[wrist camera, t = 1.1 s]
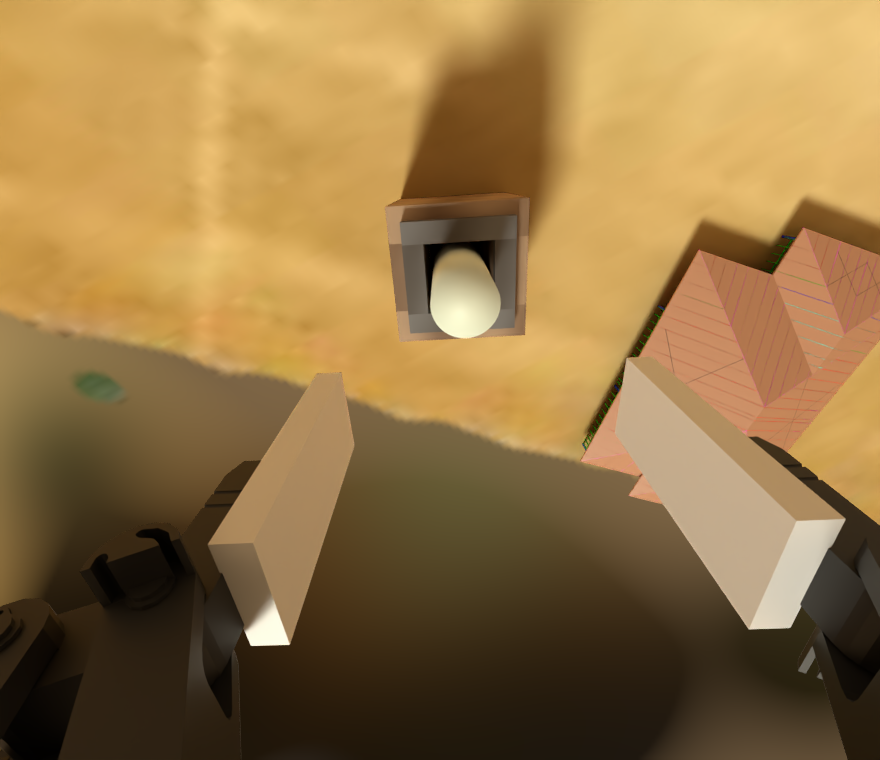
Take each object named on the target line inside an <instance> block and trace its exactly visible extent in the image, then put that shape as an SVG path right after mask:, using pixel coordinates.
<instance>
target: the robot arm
mask: <svg viewBox="0 0 880 760" xmlns="http://www.w3.org/2000/svg"><path fill="white" fill-rule="evenodd" d="M615 434H616V436H617V437H618V439H619V440H620V442H621V443H622V445H623V446H624V448H625V449H626V450H627V452H628V453H629V455H630V456H631V458H632V459H633V461H634V462H635V464H636V465H637V467H638V468H639V469H640V471H641V472H642V474H643V475H644V477H645V478H646V480H647V481H648V483H649V484H650V485H651V487H652V488H653V490H654V491H655V493H656V494H657V496H658V497H659V499H660V500H661V502H662V503H663V504H664V506H665V507H666V509H667V510H668V512H669V513H670V514H671V516H672V518H673V519H674V521H675V522H676V523H677V525H678V526H679V528H680V529H681V531H682V532H683V534H684V535H685V537H686V538H687V540H688V541H689V542H690V544H691V545H692V547H693V548H694V550H695V551H696V552H697V554H698V555H699V557H700V559H701V560H702V561H703V563H704V564H705V566H706V567H707V568H708V570H709V572H710V573H711V575H712V576H713V577H714V579H715V580H716V582H717V583H718V585H719V586H720V588H721V589H722V591H723V592H724V594H725V595H726V597H727V598H728V599H729V601H730V602H731V604H732V605H733V607H734V608H735V610H736V611H737V612H738V614H739V616H740V617H741V618H742V620H743V621H744V623H745V624H746V626H747V627H748V629H770V628H790V627H791V625H792V623H793V621H794V619H795V618H796V615H797V613H798V612H799V610H800V608H801V606H802V607H803V609H804V610H805V611H806V612H807V613H808V615H809V616H810V617H811V618H812V619H813V620H814V622H815V623H816V624H817V626H816V628H815V630H814V632H813V633H812V635H811V637H810V639H809V641H808V643H807V644H806V646H805V648H804V650H803V651H802V653H801V655H800V657H799V659H798V671H800V672H803V673H806V672H807V670H808V669H809V667H810V665H811V663H812V662H813V660H814V658H815V657H816V659H817V662H818V666H819V671H818V673H817V677H818V678H820V679H823V682H824V685H825V688H826V691H827V695H828V698H829V701H830V704H831V707H832V711H833V714H834V717H835V720H836V723H837V727H838V730H839V733H840V736H841V740H842V743H843V746H844V749H845V753H846V755H847V759H848V760H880V525H878V524H877V523H876V522H875V521H873V520H872V519H871V518H869V517H868V516H867V515H866V514H864V513H863V512H862V511H861V510H859V509H858V508H857V507H855V506H854V505H853V504H852V503H850V502H849V501H848V500H847V499H845V498H844V497H843V496H842V495H840V494H839V493H838V492H836V491H835V490H834V489H833V488H831V487H830V486H829V485H828V484H826V483H825V482H824V481H823V480H818V477H817V476H816V475H815V474H814V473H812V472H811V471H810V470H809V469H807V468H806V467H802V464H801V463H800V462H798V461H797V460H796V459H795V458H793V457H792V456H791V455H790V454H788V453H787V452H786V451H785V450H783V449H782V448H780V447H778V446H776V445H774V444H772V443H770V442H768V441H766V440H764V439H762V438H760V437H758V436H754V437H748V436H746V435H745V434H744V433H743V432H742V431H740V430H739V429H738V428H737V427H736V426H734V425H733V424H732V423H731V422H730V421H728V420H727V419H726V418H725V417H724V416H723V415H721V414H720V413H719V412H718V411H717V410H715V409H714V408H713V407H712V406H711V405H709V404H708V403H707V402H706V401H705V400H703V399H702V398H701V397H700V396H699V395H697V394H696V393H695V392H694V391H693V390H692V389H690V388H689V387H688V386H687V385H686V384H684V383H683V382H682V381H681V380H680V379H678V378H677V377H676V376H675V375H674V374H672V373H671V372H670V371H669V370H668V369H666V368H665V367H664V366H663V365H662V364H661V363H659V362H658V361H657V360H656V359H655V358H653V357H652V356H650V357H630V358H627V359H626V365H625V371H624V378H623V384H622V390H621V397H620V403H619V410H618V416H617V422H616V429H615ZM353 448H354V440H353V435H352V429H351V424H350V418H349V413H348V407H347V402H346V396H345V390H344V385H343V379H342V374H341V372H339V373H320V374H316V376H315V377H314V379H313V380H312V382H311V384H310V385H309V387H308V388H307V390H306V391H305V393H304V395H303V396H302V398H301V399H300V401H299V403H298V404H297V406H296V407H295V409H294V410H293V412H292V413H291V415H290V417H289V418H288V420H287V421H286V423H285V424H284V426H283V427H282V429H281V431H280V432H279V434H278V435H277V437H276V438H275V440H274V442H273V443H272V445H271V446H270V448H269V449H268V451H267V452H266V454H265V456H264V457H263V459H262V460H261V461H244V462H242V463H241V464H240V465H239V466H237V467H236V468H235V469H233V470H232V471H231V472H230V473H228V474H227V475H226V476H225V477H224V479H223V480H222V481H221V483H220V484H219V486H218V487H217V488H216V490H215V492H214V494H213V495H211V497H210V498H209V499H208V501H207V502H206V503H205V508H202V509H201V510H200V512H199V513H198V514H197V516H196V517H195V519H194V520H193V521H192V523H191V524H190V525H189V527H188V528H187V530H186V531H185V532H184V534H183V535H182V536H180V533H179V531H178V529H177V528H175V527H174V526H172V525H171V524H168V523H151V524H146V525H141V526H138V527H135V528H133V529H131V530H128V531H126V532H123V533H121V534H119V535H118V536H116V537H115V538H113V539H111V540H110V541H108V542H106V543H105V544H103V545H102V546H101V547H100V548H99V549H98V550H97V551H96V552H94V553H93V554H92V555H91V556H90V557H89V558H88V559H87V561H86V563H85V564H84V566H83V567H82V569H81V571H80V573H81V574H82V576H83V578H84V579H85V580H86V582H87V584H88V585H89V587H90V588H91V590H92V591H93V593H94V595H95V596H96V597H97V599H98V601H99V602H98V603H95V604H92V605H88V606H85V607H82V608H78V609H75V610H72V611H68V612H65V613H62V614H58V615H56V613H55V612H54V611H53V610H52V608H51V607H50V605H49V604H48V603H47V602H45V601H43V600H41V599H39V598H35V599H22V600H19V601H16V602H13V603H9V604H6V605H3V606H2V607H0V748H1V751H0V760H241V736H240V700H239V666H238V661H237V658H236V654H235V652H234V648H235V645H236V643H237V641H238V638H239V636H240V634H241V632H242V629H243V628H244V630H245V633H246V635H247V637H248V640H249V642H250V644H251V646H259V645H289V644H290V642H291V639H292V636H293V632H294V630H295V627H296V623H297V621H298V618H299V614H300V611H301V608H302V605H303V602H304V599H305V596H306V593H307V590H308V586H309V584H310V581H311V577H312V574H313V571H314V568H315V565H316V562H317V559H318V556H319V553H320V550H321V547H322V544H323V540H324V537H325V535H326V531H327V528H328V525H329V522H330V519H331V516H332V513H333V510H334V507H335V504H336V501H337V497H338V495H339V491H340V488H341V485H342V482H343V479H344V476H345V473H346V470H347V467H348V464H349V461H350V458H351V454H352V451H353Z"/></svg>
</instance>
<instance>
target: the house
mask: <svg viewBox="0 0 880 760" xmlns="http://www.w3.org/2000/svg"><path fill="white" fill-rule="evenodd" d="M782 237H783V238H788V239H791V241H792V240H794V242H793V243H792V245H791V246H790V247H788V246H789V244H790V243H791V241H790V242H789V244H788V245H787V247H786V248H789V250H788V251H787V253H786V254H785V256H784V255H782V254H783V253H784V251H785V250H786V248H785V249H784V251H783V252H782V254H781V256H780V258H781V257H782V256H784V257H783V259H782V260H781V262H780V263H779V265H778V266H777V268H776V269H775V271H774V272H773V271H772V270H773V268H774V267H775V265H776V264H778V261H779V260H780V258H779V259H778V261H777V262H776V263H775V265H774V266H773V268H772V269H771V271H770V273H771V272H773V274H772V275H771V274H770V273H769V274H768V273H766V272H763V271H760V270H757V269H754V268H751V267H748V266H745V265H742V264H739V263H736V262H733V261H730V260H727V259H724V258H722V257H719V256H716V255H713V254H710V253H707V252H704V251H701V250H698V251H697V253H696V255H695V257H694V259H693V260H692V262H691V264H690V266H689V267H688V269H687V271H686V273H685V275H684V276H683V278H682V280H681V282H680V283H679V285H678V287H677V289H676V291H675V292H674V294H673V296H672V298H671V300H670V301H669V303H668V305H667V307H666V308H663V307H661V306H659V305H658V307H659V308H660V309H662V310H664V311H663V313H662V314H661V316H660V317H659V316H658V315H656V314H655V315H656V316H658V317H659V319H658V321H657V323H656V325H655V327H654V329H653V331H652V330H650V329H649V328H648V327H646V328H648V329H649V330H650V331H652V332H651V334H650V335H649V337H647V336H646V335H644V334H643V335H644V336H646V337H647V338H648V339H647V341H646V343H645V344H644V343H643V342H641V341H640V340H639V341H640V342H641V343H642V344H644V346H643V348H642V350H639V349H638V348H637V347H636V348H637V349H638V350H639V351H640V354H639V356H638V357H650V356H652V357H653V358H655V359H656V360H657V361H658V362H659V363H661V364H662V365H663V366H664V367H665V368H666V369H668V370H669V371H670V372H671V373H672V374H674V375H675V376H676V377H677V378H678V379H680V380H681V381H682V382H683V383H684V384H686V385H687V386H688V387H689V388H690V389H692V390H693V391H694V392H695V393H696V394H697V395H699V396H700V397H701V398H702V399H703V400H705V401H706V402H707V403H708V404H709V405H711V406H712V407H713V408H714V409H715V410H717V411H718V412H719V413H720V414H721V415H723V416H724V417H725V418H726V419H727V420H728V421H730V422H731V423H732V424H733V425H734V426H736V427H737V428H738V429H739V430H740V431H742V432H743V433H744V434H745V435H746V436H748V437H754V436H758V437H760V438H762V439H764V440H766V441H768V442H770V443H772V444H774V445H776V446H778V447H780V448H782V449H783V450H785V451H786V452H787V451H788V450H789V449H790V448H791V447H792V445H793V444H794V443H795V442H796V441H797V439H798V438H799V437H800V436H801V434H802V433H803V432H804V431H805V430H806V428H807V427H808V426H809V425H810V424H811V422H812V421H813V420H814V419H815V418H816V416H817V415H818V414H819V413H820V412H821V410H822V409H823V408H824V407H825V406H826V404H827V403H828V402H829V401H830V399H831V398H832V397H833V396H834V395H835V393H836V392H837V391H838V390H839V389H840V387H841V386H842V385H843V384H844V383H845V381H846V380H847V379H848V378H849V377H850V375H851V374H852V373H853V372H854V371H855V369H856V368H857V367H858V366H859V364H860V363H861V362H862V361H863V360H864V358H865V357H866V356H867V355H868V354H869V352H870V351H871V350H872V349H873V348H874V346H875V345H876V344H877V343H878V342H879V340H880V255H878V254H875V253H873V252H870V251H867V250H864V249H861V248H859V247H856V246H853V245H850V244H848V243H845V242H842V241H839V240H837V239H834V238H831V237H828V236H826V235H823V234H820V233H817V232H815V231H812V230H809V229H806V228H802V230H801V231H800V233H799V234H798V236H797V237H796V238H795V237H789V236H783V235H782ZM777 246H780V245H777ZM782 247H785V246H782ZM772 254H775V253H772ZM776 255H779V254H776ZM768 262H770V261H768ZM772 263H774V262H772ZM761 269H762V268H761ZM764 270H766V269H764ZM767 271H769V270H767ZM650 321H651V320H650ZM651 322H653V321H651ZM653 323H654V322H653ZM654 324H655V323H654ZM632 354H633V353H632ZM633 355H634V354H633ZM634 356H635V355H634ZM635 357H636V356H635ZM622 373H623V372H622ZM623 374H624V373H623ZM619 379H620V378H619ZM620 380H621V379H620ZM621 382H622V383H623V381H622V380H621ZM617 383H618V384H619V382H618V381H617ZM619 385H620V384H619ZM620 386H621V387H620V389H619V388H618V387H617V386H616V385H615V386H614V387H615V388H616V389H617V390H618V393H617V394H616V396H615V395H614V394H613V393H612V392H611V393H612V394H613V395H614V397H615V398H614V400H613V402H612V401H611V400H610V399H609V398H608V399H609V400H610V402H611V405H610V407H608V406H607V405H606V403H605V405H606V406H607V408H608V411H607V413H605V412H604V410H603V409H602V410H603V412H604V413H605V416H604V418H603V419H602V417H601V416H600V414H598V415H599V416H600V418H601V419H602V422H601V423H600V424H599V423H598V421H597V420H596V421H597V423H598V425H599V427H598V428H597V430H596V428H595V427H594V425H593V427H594V428H595V430H596V432H595V434H594V435H593V433H592V432H591V430H590V432H591V434H592V435H593V437H592V439H591V440H590V439H589V437H588V436H587V437H588V439H589V440H590V443H589V444H588V443H587V441H586V439H585V441H586V443H587V444H588V446H587V448H586V446H585V445H584V443H582V444H583V446H584V448H585V450H586V451H585V453H584V455H583V457H582V458H581V460H580V461H581V462H585V463H589V464H592V465H596V466H600V467H604V468H608V469H612V470H616V471H620V472H624V473H628V474H631V475H635V476H639V477H640V478H639V479H638V481H637V482H636V484H635V485H634V487H633V489H632V490H631V491H630V493H629V494H628V495H629V496H632V497H636V498H640V499H644V500H648V501H652V502H656V503H660V504H663V503H662V502H661V500H660V499H659V497H658V496H657V494H656V493H655V491H654V490H653V488H652V487H651V485H650V484H649V483H648V481H647V480H646V478H645V477H644V475H643V474H642V472H641V471H640V469H639V468H638V467H637V465H636V464H635V462H634V461H633V459H632V458H631V456H630V455H629V453H628V452H627V450H626V449H625V448H624V446H623V445H622V443H621V442H620V440H619V439H618V437H617V436H616V434H615V429H616V422H617V416H618V410H619V403H620V397H621V390H622V385H620Z"/></svg>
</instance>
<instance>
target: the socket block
mask: <svg viewBox="0 0 880 760" xmlns="http://www.w3.org/2000/svg"><path fill="white" fill-rule="evenodd" d="M529 205H530V198H529V197H525V196H520V195H515V194H510V193H506V192H504V193H488V194H473V195H457V196H441V197H426V198H410V199H400V200H398V201H396V202H394V203H392V204H390V205H388V206H386V207H385V211H386V220H387V229H388V239H389V248H390V257H391V266H392V275H393V284H394V294H395V303H396V312H397V321H398V330H399V339H400V342H405V341H424V340H442V339H461V338H457V337H454V336H451V335H449V334H447V333H445V332H444V331H443V330H441V329H440V328H439V327H438V325H437V324H436V322H435V321H434V319H433V317H432V313H431V308H430V301H431V290H432V278H433V276H432V271H431V257H430V244H436V243H452V242H469V241H480V256H481V257H482V259H483V261H484V263H485V265H486V267H487V269H488V271H489V273H490V275H491V277H492V279H493V281H494V283H495V285H496V287H497V289H498V291H499V294H500V299H501V306H500V312H499V315H498V317H497V319H496V321H495V322H494V324H493V325H492V326H491V327H490V328H489V329H488V330H487V331H486V332H484V333H482V334H481V335H478V336H476V337H472V338H479V337H497V336H516V335H525V318H526V290H527V262H528V233H529Z"/></svg>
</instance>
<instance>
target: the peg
mask: <svg viewBox="0 0 880 760" xmlns="http://www.w3.org/2000/svg"><path fill="white" fill-rule="evenodd" d="M500 306H501V299H500V294H499V291H498V289H497V287H496V285H495V283H494V281H493V279H492V277H491V275H490V273H489V271H488V269H487V267H486V265H485V263H484V261H483V259H482V257H481V256H480V254H479V252H478V250H477V249H476V248H475V247H474V246H473V245H472V244H471V243H469V242H452V243H446V244H444V245H443V246H442V247H441V248H440V249H439V250H438V252H437V254H436V256H435V259H434V267H433V278H432V290H431V301H430V308H431V313H432V317H433V319H434V321H435V322H436V324H437V325H438V327H439V328H440V329H441V330H443V331H444V332H445V333H447V334H449V335H451V336H454V337H457V338H472V337H476V336H478V335H481V334H482V333H484V332H486V331H487V330H488V329H489V328H490V327H491V326H492V325H493V324H494V322H495V321H496V319H497V317H498V315H499V312H500Z"/></svg>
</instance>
